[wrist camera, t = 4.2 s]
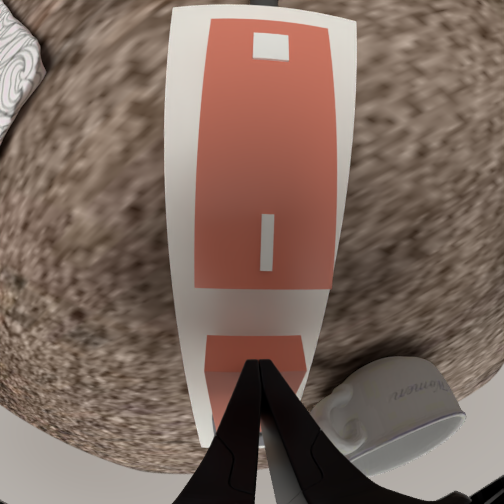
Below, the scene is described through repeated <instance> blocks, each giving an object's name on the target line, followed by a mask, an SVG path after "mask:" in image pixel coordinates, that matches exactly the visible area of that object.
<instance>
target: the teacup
mask: <svg viewBox="0 0 504 504" xmlns="http://www.w3.org/2000/svg"><path fill="white" fill-rule="evenodd" d="M310 415H311V416H312V417H313V419H314V420H315V421H316V423H317V424H318V425H319V427H320V428H321V429H320V430H323V432H324V433H325V434H326V436H327V437H328V438H329V439H330V441H331V442H332V443H333V444H334V445H335V447H336V448H337V449H338V450H339V451H340V452H341V453H342V454H343V455H344V456H345V457H346V458H347V459H348V460H349V461H350V462H351V463H352V464H353V465H355V466H356V467H357V468H358V469H359V470H360V471H361V472H362V473H363V474H364V475H365V476H366V477H371V476H375V475H378V474H381V473H385V472H388V471H390V470H393V469H395V468H398V467H400V466H403V465H405V464H407V463H409V462H411V461H413V460H416V459H417V458H419V457H421V456H423V455H425V454H427V453H428V452H430V451H431V450H433V449H435V448H436V447H438V446H439V445H441V444H442V443H443V442H445V441H446V440H447V439H449V438H450V437H451V436H452V435H453V434H454V433H455V432H457V430H458V429H459V428H460V427H461V426H462V424H463V423H464V422H465V419H466V414H465V412H463V411H462V410H461V408H460V406H459V404H458V402H457V400H456V398H455V396H454V394H453V392H452V391H451V389H450V387H449V385H448V384H447V382H446V380H445V379H444V377H443V375H442V374H441V373H440V371H439V370H438V369H437V368H436V366H434V365H433V364H432V363H431V362H429V361H428V360H425V359H423V358H419V357H403V356H393V357H386V358H382V359H379V360H376V361H373V362H371V363H369V364H367V365H365V366H363V367H361V368H360V369H358V370H357V371H355V372H354V373H352V374H351V375H350V376H349V377H348V378H347V379H346V380H345V381H344V382H343V383H342V384H341V385H339V386H337V387H336V388H335V389H334V390H333V392H332V394H330V395H329V396H327V397H325V398H324V399H322V400H321V401H320V402H319V403H318V404H316V405H315V406H314V408H313V409H312V411H311V412H310Z"/></svg>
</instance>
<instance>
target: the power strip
mask: <svg viewBox="0 0 504 504" xmlns="http://www.w3.org/2000/svg"><path fill="white" fill-rule="evenodd" d="M220 18H234V19H259V20H272V21H282V22H291V23H298V24H305V25H311V26H317V27H322V28H328V33H329V40H330V49H331V58H332V68H333V80H334V93H335V109H336V132H337V214H336V238H335V255H334V266H335V261H336V256H337V250H338V245H339V239H340V233H341V227H342V221H343V214H344V208H345V201H346V193H347V186H348V178H349V169H350V160H351V150H352V140H353V128H354V114H355V96H356V64H357V36H356V21H352V20H348V19H344V18H340V17H336V16H331V15H326V14H321V13H316V12H311V11H304V10H298V9H290V8H282V7H278V0H250V5H231V4H224V5H196V6H184V7H174V8H173V11H172V19H171V27H170V36H169V47H168V58H167V72H166V89H165V115H164V174H165V202H166V220H167V235H168V248H169V259H170V270H171V279H172V288H173V297H174V305H175V313H176V320H177V327H178V334H179V340H180V346H181V352H182V358H183V364H184V370H185V375H186V380H187V386H188V391H189V395H190V400H191V405H192V410H193V414H194V419H195V423H196V427H197V431H198V435H199V439H200V443H201V447H207V448H209V447H210V445H211V442H212V440H213V438H214V436H215V433H216V428H215V423H214V418H213V414H212V409H211V404H210V399H209V394H208V389H207V384H206V379H205V374H204V365H205V352H206V340H207V335H220V336H291V335H301V339H302V344H303V350H304V356H305V361H306V367H307V372H306V374H305V376H304V378H303V380H302V383H301V385H300V387H299V389H298V391H297V393H296V396H297V397H298V398H299V400H300V401H301V398H302V395H303V391H304V388H305V385H306V381H307V378H308V374H309V371H310V367H311V364H312V360H313V357H314V353H315V349H316V345H317V342H318V338H319V334H320V330H321V326H322V322H323V317H324V313H325V309H326V304H327V300H328V295H329V291H330V289H311V290H270V289H212V288H195V287H194V230H195V192H196V168H197V150H198V135H199V121H200V109H201V98H202V87H203V78H204V69H205V60H206V52H207V44H208V36H209V29H210V22H211V19H220ZM333 271H334V269H333ZM259 448H265V445H264V440H263V435H262V432H260V434H259Z"/></svg>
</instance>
